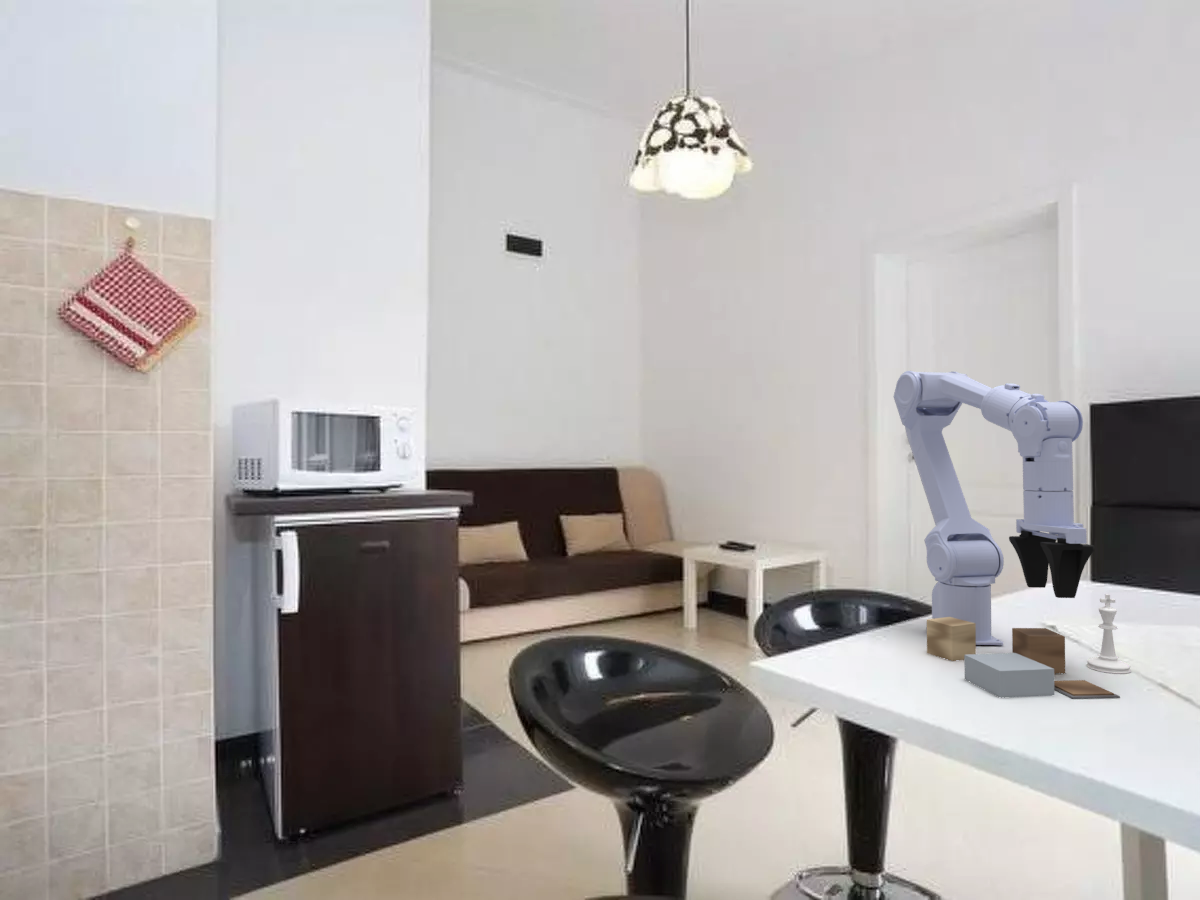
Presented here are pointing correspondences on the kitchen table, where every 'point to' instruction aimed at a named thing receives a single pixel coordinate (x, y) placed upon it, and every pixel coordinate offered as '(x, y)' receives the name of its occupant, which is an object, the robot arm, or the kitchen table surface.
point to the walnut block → (1040, 646)
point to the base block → (1009, 675)
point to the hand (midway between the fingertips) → (1050, 592)
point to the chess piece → (1108, 643)
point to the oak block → (951, 638)
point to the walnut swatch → (1082, 689)
